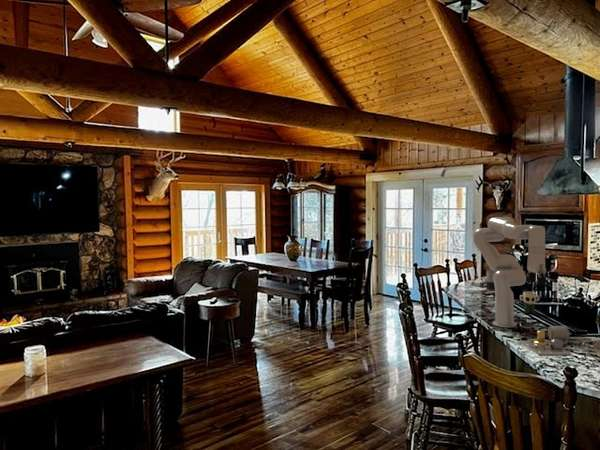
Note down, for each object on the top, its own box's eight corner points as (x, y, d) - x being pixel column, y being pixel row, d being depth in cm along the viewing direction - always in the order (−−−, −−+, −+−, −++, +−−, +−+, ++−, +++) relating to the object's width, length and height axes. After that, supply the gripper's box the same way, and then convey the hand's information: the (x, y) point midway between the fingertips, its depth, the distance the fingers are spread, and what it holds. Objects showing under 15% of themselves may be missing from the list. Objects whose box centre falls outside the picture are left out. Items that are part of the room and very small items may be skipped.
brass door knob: (530, 342, 217) (530, 329, 217) (544, 342, 217) (544, 329, 217) (537, 347, 210) (537, 333, 210) (552, 346, 210) (552, 333, 210)
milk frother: (497, 290, 350) (497, 271, 349) (476, 288, 359) (476, 270, 358) (500, 287, 362) (500, 269, 361) (480, 285, 371) (480, 268, 370)
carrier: (521, 343, 221) (521, 333, 220) (550, 343, 220) (550, 333, 220) (538, 355, 204) (538, 344, 203) (569, 354, 203) (569, 344, 203)
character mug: (520, 314, 277) (520, 293, 276) (518, 311, 284) (518, 291, 283) (540, 314, 274) (540, 294, 273) (537, 312, 280) (537, 291, 280)
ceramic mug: (546, 338, 228) (546, 323, 228) (564, 338, 226) (564, 323, 226) (553, 344, 218) (553, 329, 217) (572, 345, 216) (572, 330, 215)
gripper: (521, 248, 235) (521, 280, 236) (537, 252, 218) (537, 286, 219) (535, 248, 235) (535, 280, 236) (553, 251, 218) (553, 286, 218)
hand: (536, 283), depth 227 cm, fingers open, 9 cm apart
